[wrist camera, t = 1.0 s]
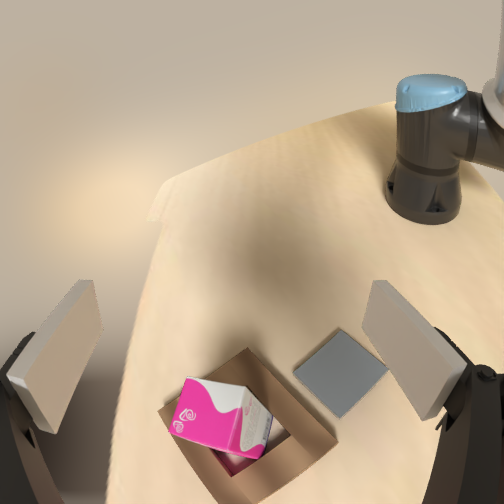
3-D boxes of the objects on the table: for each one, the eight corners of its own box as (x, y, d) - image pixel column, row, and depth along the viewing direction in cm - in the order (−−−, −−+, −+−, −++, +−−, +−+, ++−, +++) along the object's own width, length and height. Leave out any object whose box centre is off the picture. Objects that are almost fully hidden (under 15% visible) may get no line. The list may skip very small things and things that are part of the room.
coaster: (341, 332, 35) (341, 329, 35) (387, 371, 30) (388, 369, 30) (293, 374, 33) (292, 372, 33) (339, 419, 28) (339, 418, 27)
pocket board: (250, 353, 36) (247, 347, 35) (338, 443, 26) (338, 441, 25) (164, 414, 32) (157, 411, 31) (235, 516, 22) (230, 518, 21)
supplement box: (226, 406, 32) (186, 372, 24) (274, 415, 30) (250, 385, 22) (213, 449, 28) (165, 431, 20) (262, 461, 26) (231, 451, 18)
